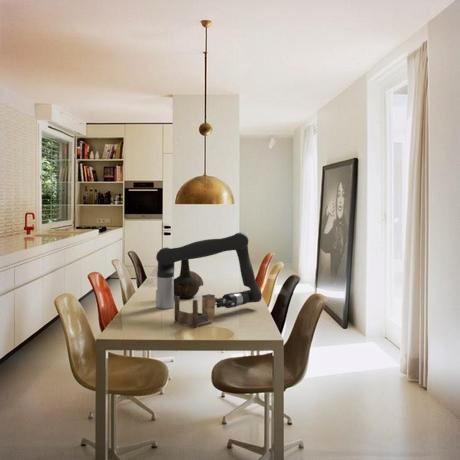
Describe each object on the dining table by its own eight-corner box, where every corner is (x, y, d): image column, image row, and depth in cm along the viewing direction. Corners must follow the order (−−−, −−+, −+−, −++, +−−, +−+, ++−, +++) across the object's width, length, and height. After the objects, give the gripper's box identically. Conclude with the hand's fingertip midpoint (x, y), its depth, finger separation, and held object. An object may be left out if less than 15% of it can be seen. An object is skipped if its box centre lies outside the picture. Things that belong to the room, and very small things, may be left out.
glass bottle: (190, 293, 344) (190, 249, 342) (204, 298, 329) (204, 252, 327) (165, 296, 335) (165, 251, 333) (178, 300, 320) (178, 253, 318)
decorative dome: (200, 282, 388) (200, 268, 387) (205, 287, 368) (205, 272, 368) (173, 283, 384) (173, 269, 383) (176, 288, 364) (176, 273, 364)
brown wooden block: (202, 318, 275) (202, 295, 274) (209, 317, 278) (209, 294, 278) (207, 320, 272) (207, 296, 271) (214, 318, 276) (214, 295, 275)
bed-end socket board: (173, 322, 266) (173, 296, 265) (191, 318, 274) (191, 293, 273) (194, 328, 255) (194, 301, 254) (212, 323, 264) (212, 297, 263)
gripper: (222, 291, 293) (201, 295, 281) (242, 294, 283) (221, 299, 271) (222, 305, 293) (201, 309, 281) (242, 309, 283) (221, 313, 272)
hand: (211, 304), depth 276 cm, fingers open, 8 cm apart
